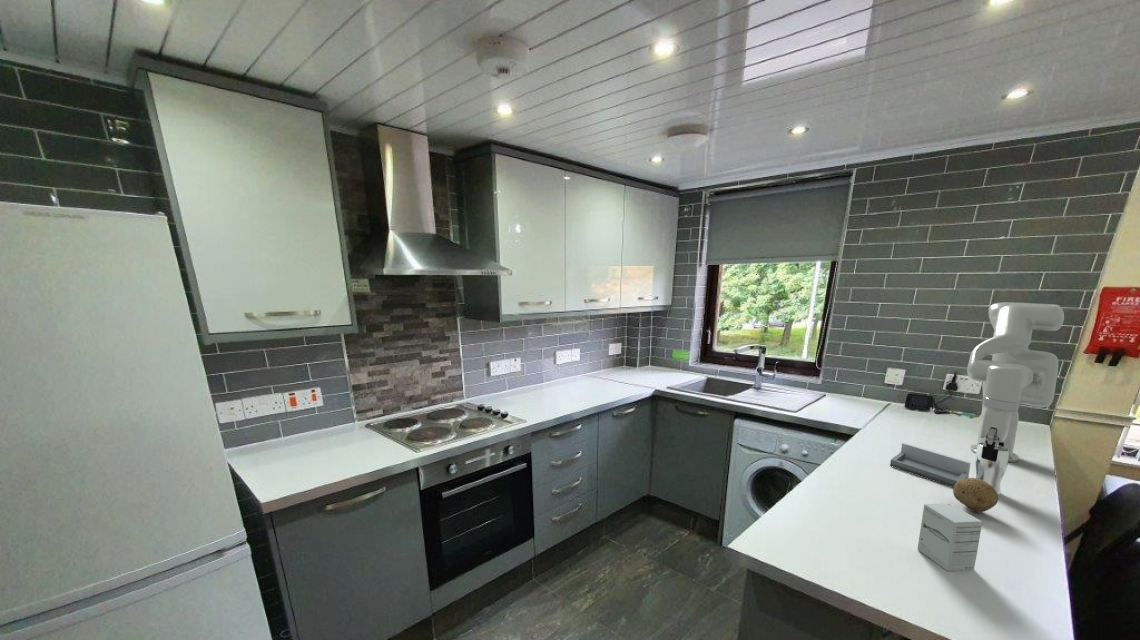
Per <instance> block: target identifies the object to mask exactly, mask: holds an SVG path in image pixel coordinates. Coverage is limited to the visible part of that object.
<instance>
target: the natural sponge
mask: <svg viewBox="0 0 1140 640" xmlns="http://www.w3.org/2000/svg"><path fill="white" fill-rule="evenodd" d="M952 488H953V487H952ZM952 492H953V496H954V498H955V499H956V500H957V501H958V502H959V503H960V504H962V505H963V506H965V507H966V508H967V509H968V510H970V511H972V512H975V513H983V512H986V511H989V510H991V509H992V508H994V507H995V506H996V505H997V504H998V502H999V496H998V494H997V492H996V491H995V489H994V488H993V487H992V486H991V485H990V484H988V483H987V482H985V481H983V480H981V479H977V478H976V477H968V478H966V479H962V480H959V481H957V483H956V484H955V485H954V488H953V490H952Z"/></svg>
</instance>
